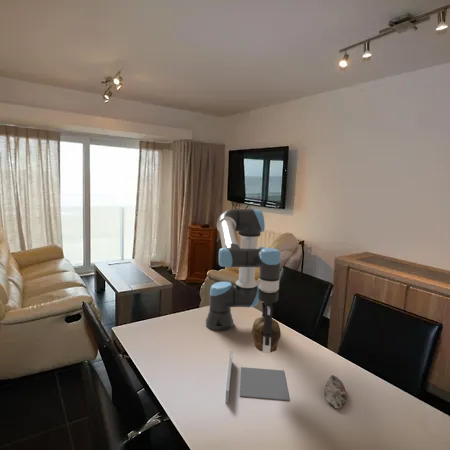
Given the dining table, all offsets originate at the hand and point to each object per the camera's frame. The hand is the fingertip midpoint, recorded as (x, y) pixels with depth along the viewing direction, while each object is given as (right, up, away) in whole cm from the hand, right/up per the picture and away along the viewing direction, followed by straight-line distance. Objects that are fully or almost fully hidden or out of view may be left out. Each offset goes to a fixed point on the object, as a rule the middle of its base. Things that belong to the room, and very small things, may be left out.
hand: (265, 344), depth 120 cm
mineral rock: (+26, -18, -4) cm, 32 cm away
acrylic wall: (-14, -16, +3) cm, 21 cm away
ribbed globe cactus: (0, -2, 0) cm, 2 cm away
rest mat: (-1, -16, +2) cm, 16 cm away
